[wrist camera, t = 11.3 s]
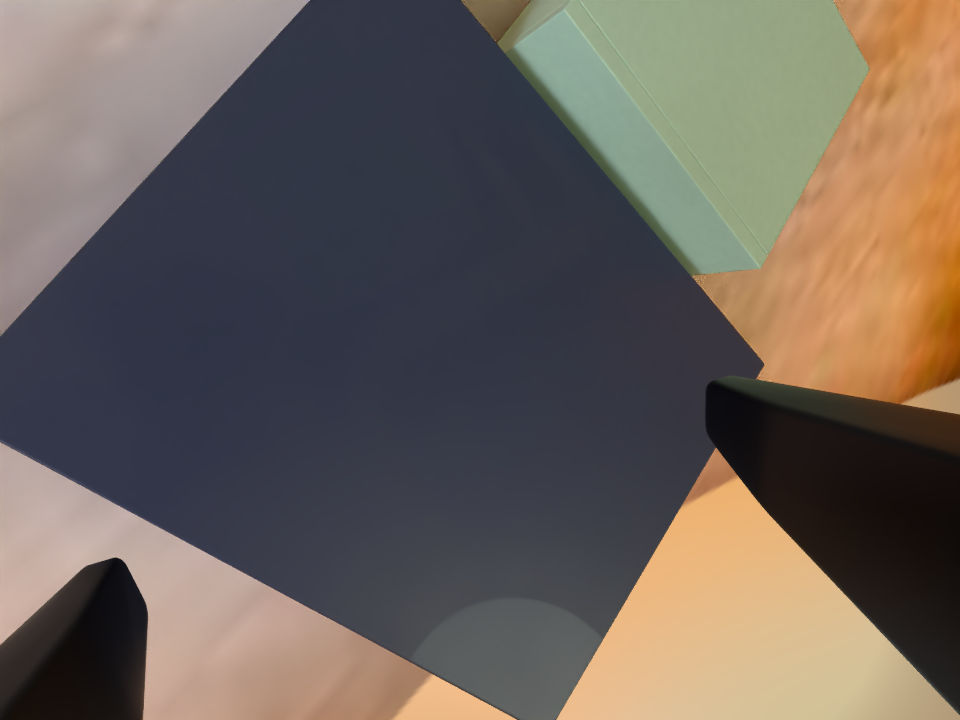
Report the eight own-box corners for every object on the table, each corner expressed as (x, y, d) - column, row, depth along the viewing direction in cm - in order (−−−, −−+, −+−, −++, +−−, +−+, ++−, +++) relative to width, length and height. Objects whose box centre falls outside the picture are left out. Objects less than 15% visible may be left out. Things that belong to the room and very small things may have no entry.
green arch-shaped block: (761, 269, 21) (870, 68, 24) (563, 9, 17) (725, -202, 19) (635, 281, 26) (736, 116, 29) (460, 86, 22) (598, -89, 24)
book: (492, 673, 25) (547, 736, 21) (-18, 384, 16) (-66, 407, 13) (689, 355, 28) (765, 363, 25) (348, -19, 20) (389, -88, 16)
